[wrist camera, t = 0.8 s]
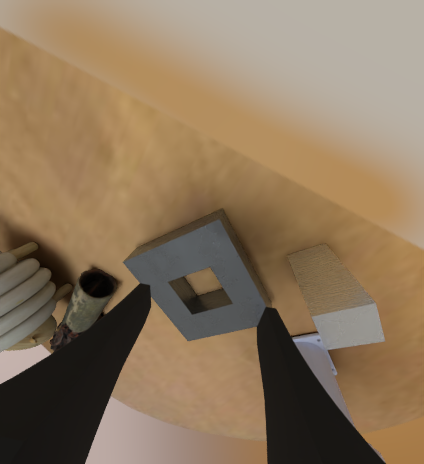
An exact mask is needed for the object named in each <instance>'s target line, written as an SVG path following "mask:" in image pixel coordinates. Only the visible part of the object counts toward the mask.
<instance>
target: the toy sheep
mask: <svg viewBox="0 0 424 464" xmlns="http://www.w3.org/2000/svg"><path fill="white" fill-rule="evenodd" d="M37 249H38V245H37V244H36V243H34V242H30V243H27V244H25V245H23V246H21V247H19V248H17V249H15V250H14V249H12V250H9V251H7V252H3V253H2V252H1V251H0V352H2V351H4V350H7V351H11V350H23V349H28V348H32V347H35V346H38V345H40V344H42V343H44V342H46V341H47V340H49V339H50V338H51V337H52V336H53V334H54V333H55V331H56V327H57V322H56V320H55V318H54V317H53V316H52V315H51V314H52V313H53V311H54V310H55V308H56V303H57V302H58V301H59V300H60V299H61V298H63V297H64V296H65V295H66V294H67V293H68V292H70V291H71V290H72V285H71V284H65V285H63V286H62V287H61V288H59V289H58V290H57V291H56V292H55V290H56V286H55V284H54V283H53V282H51V281H49V280H50V278H51V271H50V270H49V269H47V268H39V266H40V264H39V262H38V261H37V260H36V259H34V258H30V259H25V260H22V261H19V262H17V260H19V259H20V258H22V257H24V256H26V255H28V254H30V253H32V252H33V251H35V250H37Z"/></svg>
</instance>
